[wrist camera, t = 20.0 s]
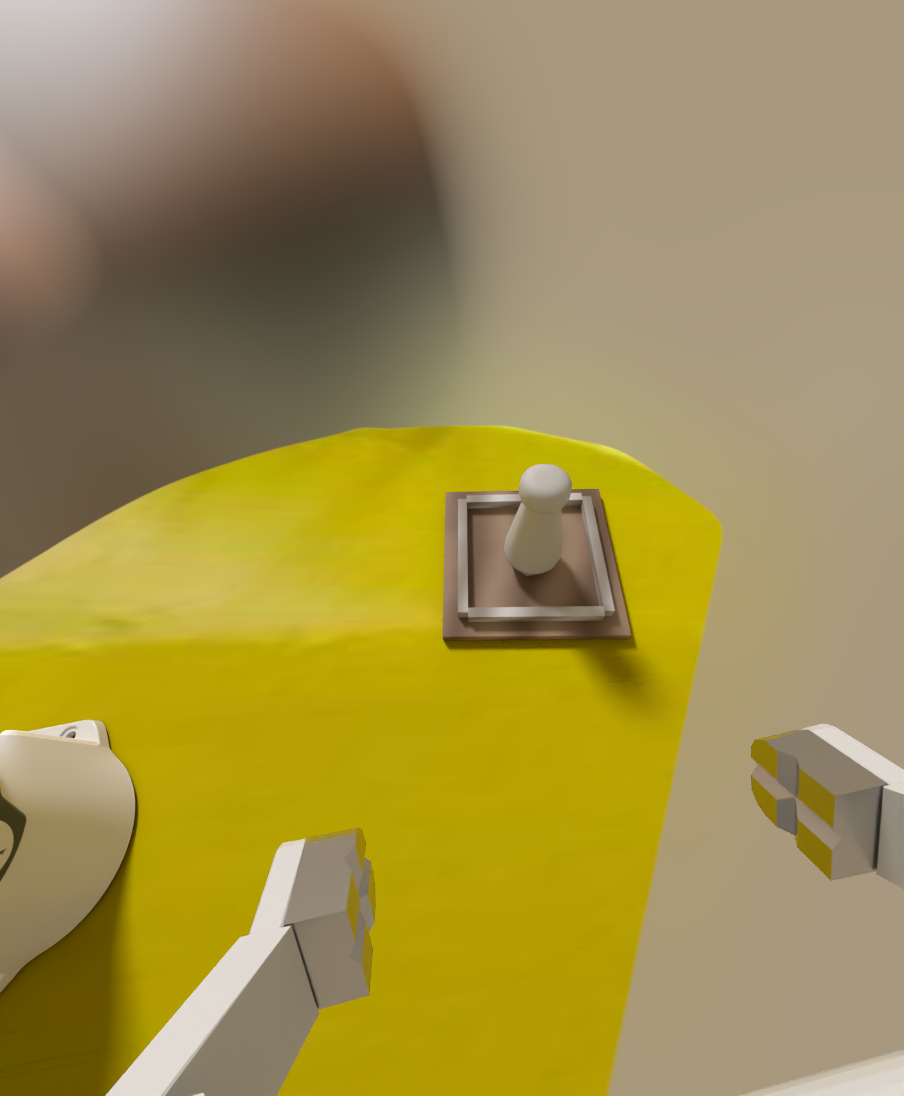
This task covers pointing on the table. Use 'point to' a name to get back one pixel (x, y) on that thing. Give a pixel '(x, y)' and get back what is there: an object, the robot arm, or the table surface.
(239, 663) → the table surface
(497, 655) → the table surface
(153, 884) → the table surface
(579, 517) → the socket plate
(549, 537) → the salt shaker
